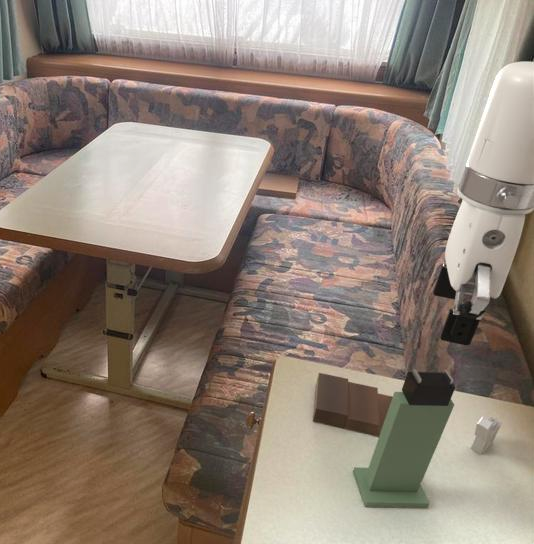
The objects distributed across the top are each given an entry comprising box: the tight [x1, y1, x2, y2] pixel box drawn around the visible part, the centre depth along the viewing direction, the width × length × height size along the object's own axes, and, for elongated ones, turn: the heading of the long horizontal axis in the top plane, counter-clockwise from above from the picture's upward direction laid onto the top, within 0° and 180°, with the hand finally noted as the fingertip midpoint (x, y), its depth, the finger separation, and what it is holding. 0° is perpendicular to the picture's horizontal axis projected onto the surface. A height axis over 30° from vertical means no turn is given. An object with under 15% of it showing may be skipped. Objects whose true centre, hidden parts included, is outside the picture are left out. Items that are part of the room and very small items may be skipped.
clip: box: [401, 368, 456, 406], centre depth 73 cm, size 3×5×4 cm, turn 91°
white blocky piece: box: [470, 416, 503, 455], centre depth 88 cm, size 7×2×8 cm, turn 130°
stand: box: [352, 391, 455, 509], centre depth 79 cm, size 6×9×18 cm, turn 91°
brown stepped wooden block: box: [312, 372, 393, 438], centre depth 95 cm, size 15×9×3 cm, turn 75°
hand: (449, 317), depth 70 cm, fingers open, 9 cm apart
